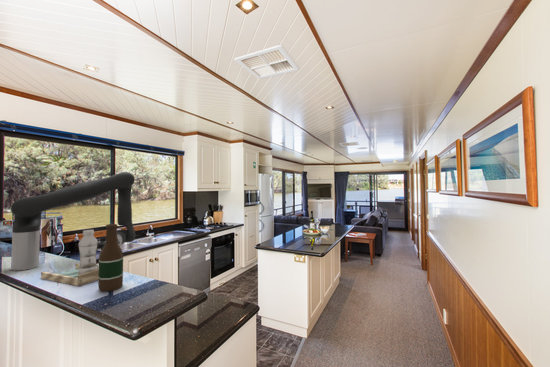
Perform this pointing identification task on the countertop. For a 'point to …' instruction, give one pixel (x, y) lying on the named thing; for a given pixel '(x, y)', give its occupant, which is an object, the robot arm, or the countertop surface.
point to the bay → (72, 276)
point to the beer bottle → (110, 262)
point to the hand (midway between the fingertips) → (92, 249)
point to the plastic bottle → (87, 252)
